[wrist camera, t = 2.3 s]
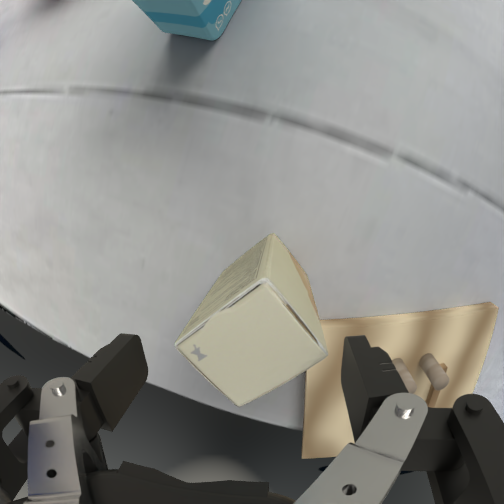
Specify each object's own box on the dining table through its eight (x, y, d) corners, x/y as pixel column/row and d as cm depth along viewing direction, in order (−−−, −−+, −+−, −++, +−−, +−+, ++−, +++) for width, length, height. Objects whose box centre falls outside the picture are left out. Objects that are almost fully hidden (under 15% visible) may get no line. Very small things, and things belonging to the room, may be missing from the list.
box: (256, 313, 23) (232, 412, 12) (220, 271, 22) (165, 347, 11) (311, 274, 21) (333, 358, 11) (275, 228, 21) (265, 276, 10)
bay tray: (490, 301, 20) (520, 323, 15) (450, 424, 24) (464, 452, 19) (306, 320, 22) (311, 355, 17) (301, 448, 26) (301, 484, 21)
